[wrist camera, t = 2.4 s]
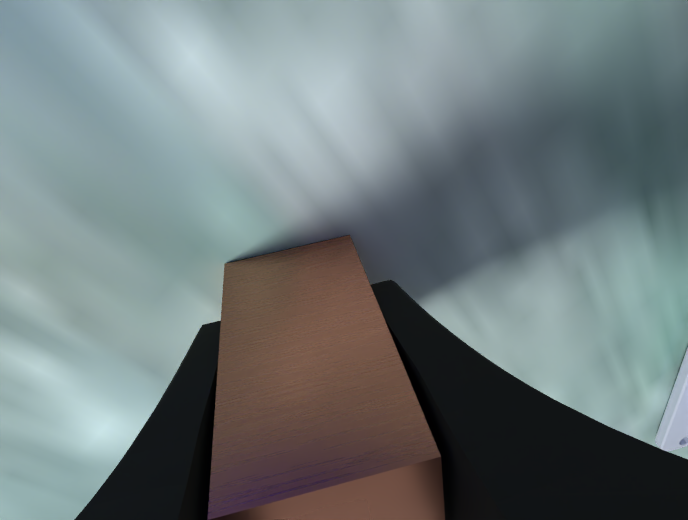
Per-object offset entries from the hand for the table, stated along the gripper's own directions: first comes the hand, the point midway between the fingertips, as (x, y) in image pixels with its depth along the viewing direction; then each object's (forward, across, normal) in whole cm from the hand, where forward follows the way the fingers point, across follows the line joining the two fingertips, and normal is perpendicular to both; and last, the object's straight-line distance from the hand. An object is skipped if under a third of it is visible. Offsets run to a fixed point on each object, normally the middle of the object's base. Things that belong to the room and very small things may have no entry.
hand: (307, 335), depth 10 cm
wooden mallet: (+1, 0, +7) cm, 7 cm away
